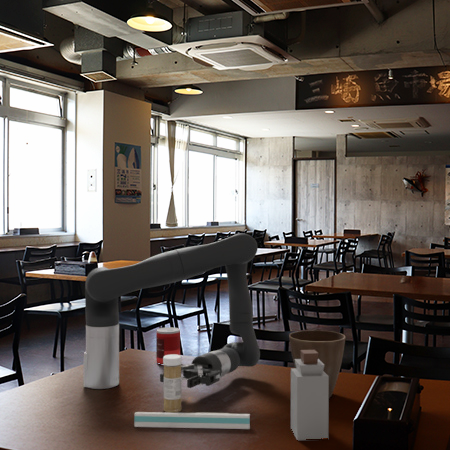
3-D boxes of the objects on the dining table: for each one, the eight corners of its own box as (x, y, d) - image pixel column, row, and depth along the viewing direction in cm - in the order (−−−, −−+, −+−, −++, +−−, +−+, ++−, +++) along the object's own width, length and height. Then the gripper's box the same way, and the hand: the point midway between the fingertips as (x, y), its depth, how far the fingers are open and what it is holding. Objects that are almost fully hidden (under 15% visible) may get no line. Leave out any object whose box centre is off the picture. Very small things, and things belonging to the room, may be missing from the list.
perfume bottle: (290, 428, 121) (290, 348, 121) (320, 427, 121) (320, 347, 121) (297, 440, 114) (297, 355, 114) (328, 439, 115) (328, 355, 115)
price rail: (134, 426, 121) (134, 413, 121) (142, 412, 131) (143, 399, 131) (249, 429, 120) (249, 415, 120) (249, 413, 130) (249, 401, 130)
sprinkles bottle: (174, 406, 135) (174, 352, 135) (185, 410, 132) (185, 356, 132) (159, 410, 133) (159, 355, 133) (169, 415, 129) (169, 359, 129)
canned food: (183, 360, 180) (183, 328, 180) (173, 366, 173) (173, 332, 173) (162, 359, 183) (163, 326, 183) (152, 364, 175) (152, 331, 175)
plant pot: (300, 406, 136) (300, 342, 136) (281, 388, 150) (281, 331, 150) (355, 402, 139) (355, 340, 139) (331, 385, 153) (331, 328, 153)
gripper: (190, 349, 150) (152, 361, 137) (233, 356, 143) (198, 370, 129) (190, 376, 150) (152, 391, 137) (233, 384, 143) (198, 401, 129)
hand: (174, 381), depth 133 cm, fingers open, 8 cm apart
